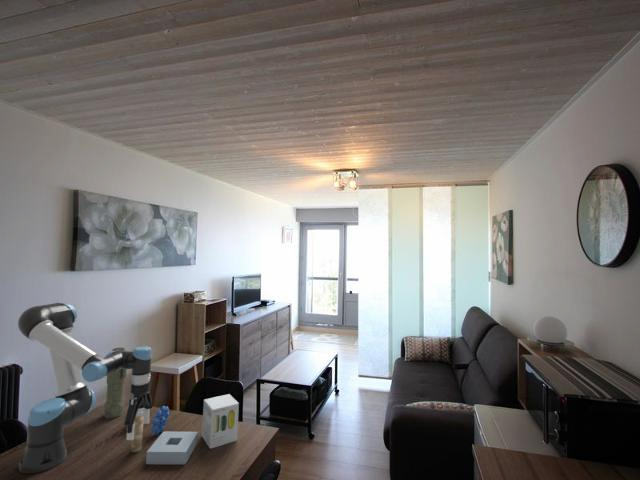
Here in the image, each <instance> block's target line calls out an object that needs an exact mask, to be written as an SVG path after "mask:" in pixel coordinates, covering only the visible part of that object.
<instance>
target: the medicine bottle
mask: <svg viewBox="0 0 640 480" xmlns="http://www.w3.org/2000/svg"><path fill="white" fill-rule="evenodd" d="M143 409H145V408H144V407H143V405H142V404H141V406H140V408H139V409H138V412H137V415H136V416H139V415H142V416H143ZM149 409H150V412H151V411H152V410H151V409H152V408H149ZM150 421H151V414H150V415H149V422H150ZM145 425H146V424H143V427H145Z"/></svg>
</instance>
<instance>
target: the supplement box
mask: <svg viewBox="0 0 640 480" xmlns="http://www.w3.org/2000/svg"><path fill="white" fill-rule="evenodd" d="M239 406H240V403H239V402H238V401H237V400H236V399H235V398H234V397H233V396H232V395H231V394H230V393H228V394H223V395H219V396H214V397H210V398H205V399H203V407H202V409H203V410H202V411H203V412H202V426H201V437H202V438H203V440H204V441H205V443H206V445H207V446H208V448H209V449H210V450H211V449H214V448H217V447H221V446H224V445H226V444H230V443H234V442H236V441H238V431H239V412H240V411H239V408H240V407H239Z"/></svg>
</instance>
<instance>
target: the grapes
mask: <svg viewBox="0 0 640 480" xmlns="http://www.w3.org/2000/svg"><path fill="white" fill-rule="evenodd" d="M169 411H170V408H169V406H165V405H162V406H161V407H160V408H159V409H158V410H157V411H156V412H155V415H154V417H153V418H152V420H151V423H152V426H151V427H150V428H151V429H150V430H151V432H152V433H153V434H154V436H157V435H159V434H160V433H163V431H164V429H165V428H164V427H165V426H167V424H168V421H169V420H168V418H169V417H170V416H171V415H170V412H169Z"/></svg>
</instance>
